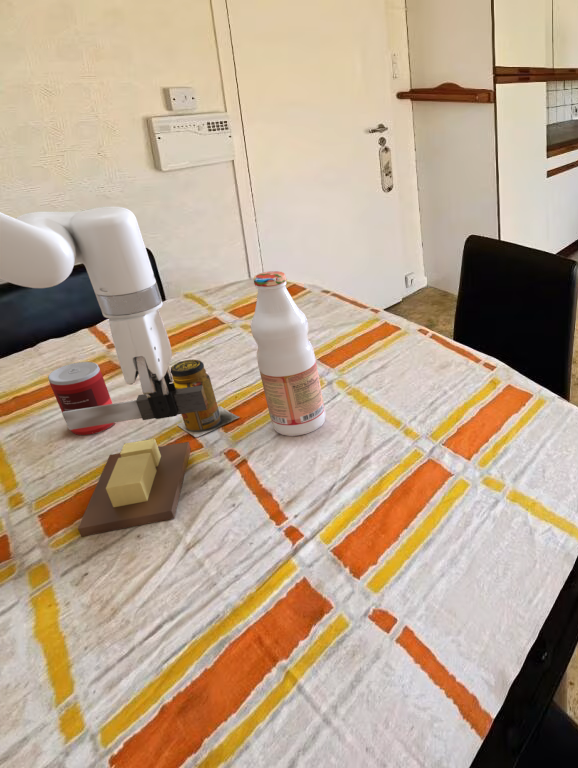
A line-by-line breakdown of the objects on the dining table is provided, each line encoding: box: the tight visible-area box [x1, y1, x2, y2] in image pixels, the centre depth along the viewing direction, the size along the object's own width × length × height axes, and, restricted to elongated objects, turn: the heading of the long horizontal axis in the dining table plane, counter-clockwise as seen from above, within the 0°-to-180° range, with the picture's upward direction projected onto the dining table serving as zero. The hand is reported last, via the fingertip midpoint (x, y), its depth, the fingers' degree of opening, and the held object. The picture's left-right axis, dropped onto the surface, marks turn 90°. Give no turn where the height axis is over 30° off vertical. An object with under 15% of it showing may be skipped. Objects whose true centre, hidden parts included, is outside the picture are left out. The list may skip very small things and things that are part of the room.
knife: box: [61, 385, 208, 431], centre depth 94 cm, size 19×2×3 cm, turn 108°
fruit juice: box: [250, 270, 326, 437], centre depth 107 cm, size 9×9×28 cm
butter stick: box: [106, 453, 157, 507], centre depth 94 cm, size 4×8×4 cm, turn 17°
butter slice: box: [119, 438, 161, 467], centre depth 99 cm, size 4×3×4 cm, turn 108°
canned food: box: [47, 361, 115, 436], centre depth 111 cm, size 8×8×11 cm
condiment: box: [170, 359, 240, 438], centre depth 111 cm, size 7×8×12 cm
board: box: [77, 441, 192, 537], centre depth 97 cm, size 12×19×2 cm, turn 18°
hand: (168, 411), depth 96 cm, fingers closed on knife, 2 cm apart
